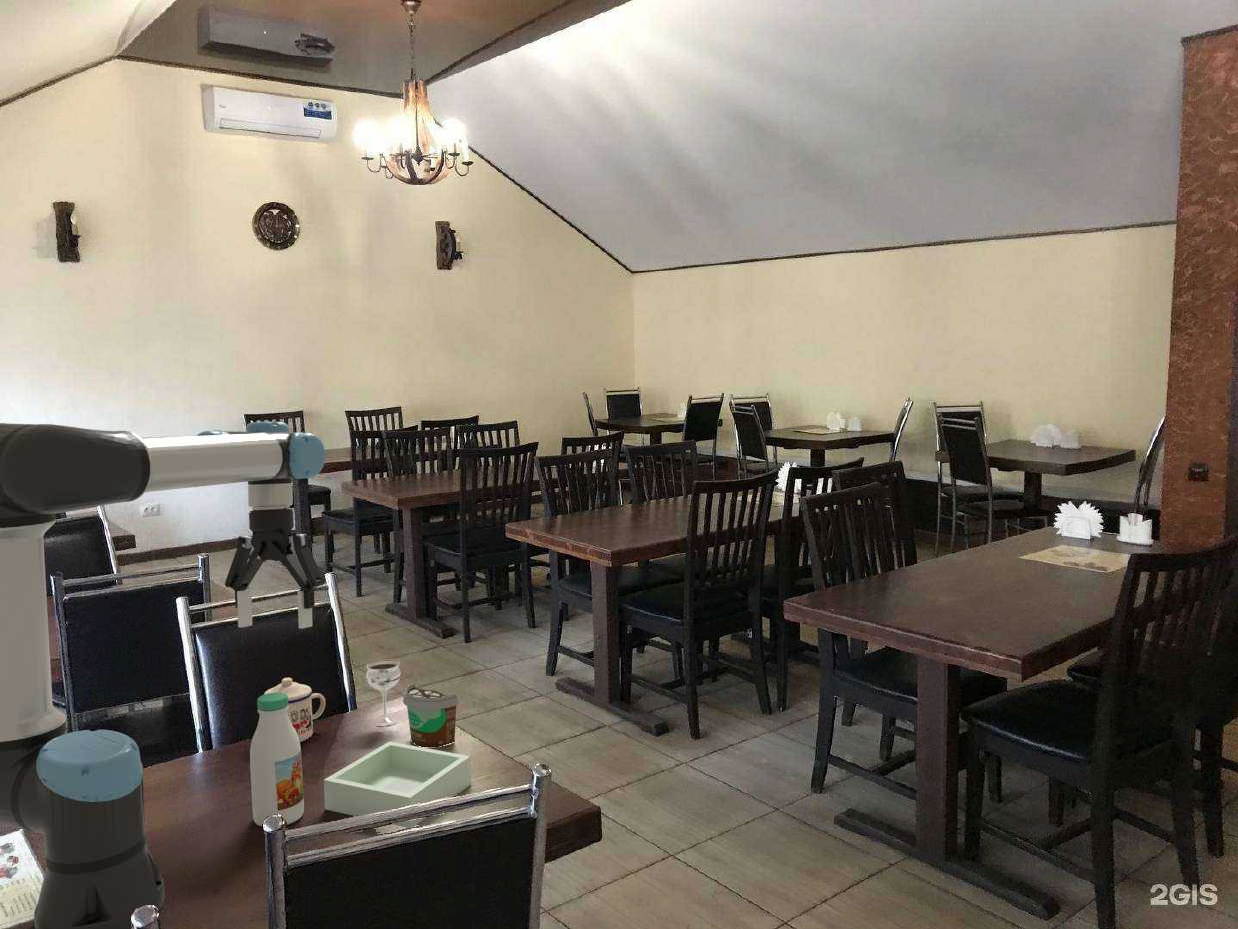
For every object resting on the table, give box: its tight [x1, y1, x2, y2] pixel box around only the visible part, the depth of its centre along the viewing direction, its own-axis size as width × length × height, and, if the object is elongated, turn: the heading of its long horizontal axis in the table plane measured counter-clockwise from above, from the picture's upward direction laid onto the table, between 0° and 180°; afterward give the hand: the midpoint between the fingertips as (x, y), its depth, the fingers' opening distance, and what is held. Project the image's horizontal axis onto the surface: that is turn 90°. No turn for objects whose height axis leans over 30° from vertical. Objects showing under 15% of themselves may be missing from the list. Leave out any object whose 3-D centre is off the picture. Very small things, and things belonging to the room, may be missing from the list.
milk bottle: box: [249, 692, 305, 827], centre depth 152 cm, size 8×8×20 cm
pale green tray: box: [323, 741, 472, 829], centre depth 159 cm, size 17×17×5 cm
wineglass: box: [365, 658, 402, 723], centre depth 192 cm, size 7×7×12 cm
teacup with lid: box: [263, 677, 326, 743], centre depth 186 cm, size 12×9×12 cm
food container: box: [402, 682, 460, 749], centre depth 181 cm, size 12×6×10 cm, turn 55°
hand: (275, 627), depth 171 cm, fingers open, 13 cm apart
